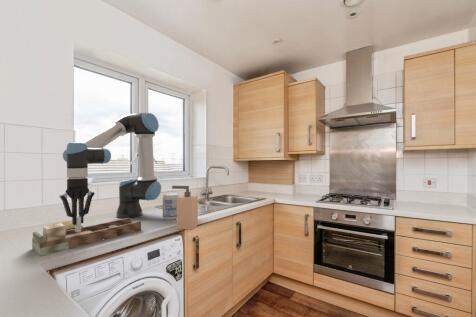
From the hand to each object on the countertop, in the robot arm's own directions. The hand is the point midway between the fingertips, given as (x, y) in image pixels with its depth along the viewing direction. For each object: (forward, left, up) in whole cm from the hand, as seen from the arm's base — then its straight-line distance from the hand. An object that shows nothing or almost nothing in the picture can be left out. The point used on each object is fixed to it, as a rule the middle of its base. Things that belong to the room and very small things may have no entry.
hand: (78, 231), depth 101 cm
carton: (-2, -19, -5) cm, 20 cm away
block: (+8, 0, -2) cm, 9 cm away
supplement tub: (-50, -2, -5) cm, 50 cm away
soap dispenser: (-43, +19, -5) cm, 47 cm away
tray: (-6, 0, -5) cm, 7 cm away
